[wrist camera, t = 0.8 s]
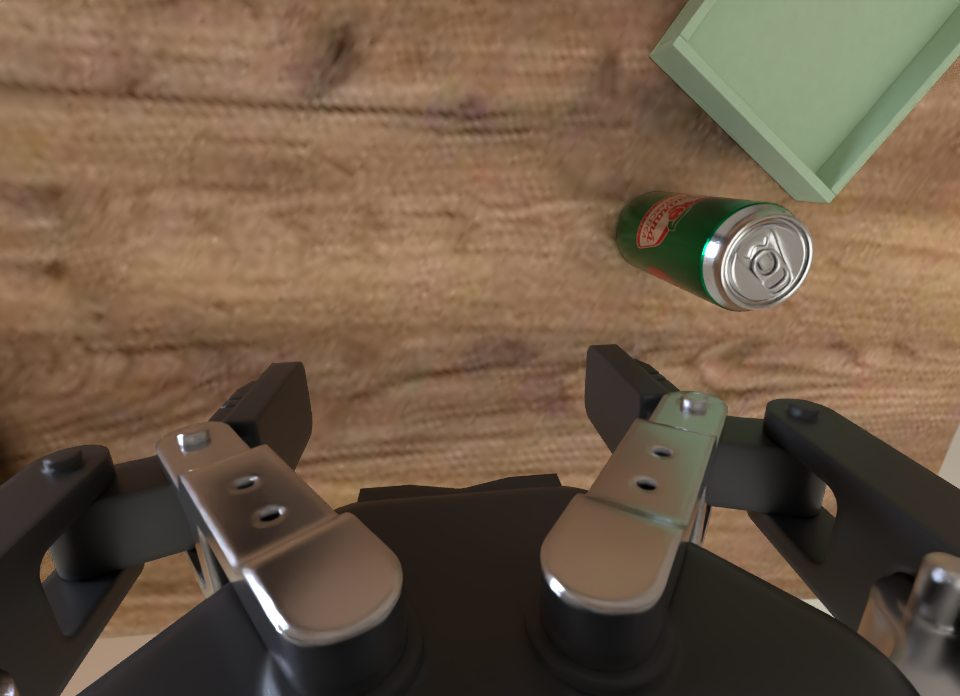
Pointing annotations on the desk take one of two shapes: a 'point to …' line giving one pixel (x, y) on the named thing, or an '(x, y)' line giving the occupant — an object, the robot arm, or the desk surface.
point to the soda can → (718, 247)
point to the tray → (810, 77)
